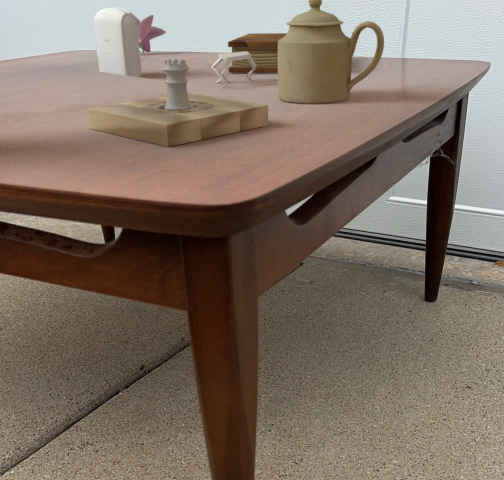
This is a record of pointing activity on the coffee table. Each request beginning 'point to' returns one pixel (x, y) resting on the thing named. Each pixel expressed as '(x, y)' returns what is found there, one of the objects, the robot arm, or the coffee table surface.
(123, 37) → the tombstone
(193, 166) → the coffee table surface
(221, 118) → the pad
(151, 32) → the lily
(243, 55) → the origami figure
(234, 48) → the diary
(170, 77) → the rook chess piece
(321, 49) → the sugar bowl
